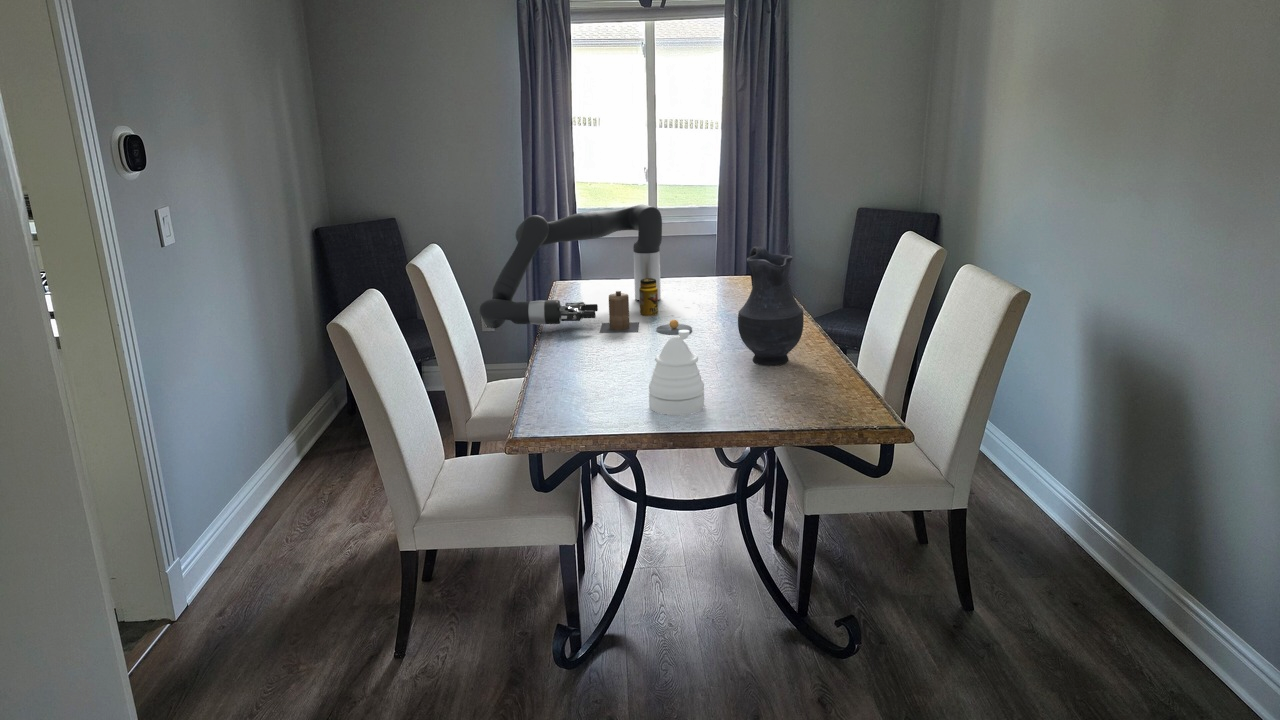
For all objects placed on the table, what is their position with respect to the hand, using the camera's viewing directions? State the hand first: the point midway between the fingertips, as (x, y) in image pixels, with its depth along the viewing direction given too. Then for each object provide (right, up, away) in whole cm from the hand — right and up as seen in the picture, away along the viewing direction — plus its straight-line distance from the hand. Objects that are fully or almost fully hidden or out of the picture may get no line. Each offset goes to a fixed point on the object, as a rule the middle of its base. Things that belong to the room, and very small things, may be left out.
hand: (596, 310), depth 263 cm
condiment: (+16, -1, +17) cm, 23 cm away
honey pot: (+22, -26, -66) cm, 74 cm away
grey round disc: (+24, -6, -3) cm, 25 cm away
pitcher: (+48, -15, -34) cm, 61 cm away
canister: (+7, -5, +1) cm, 9 cm away
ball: (+24, -4, -4) cm, 25 cm away
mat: (+7, -5, +1) cm, 9 cm away
